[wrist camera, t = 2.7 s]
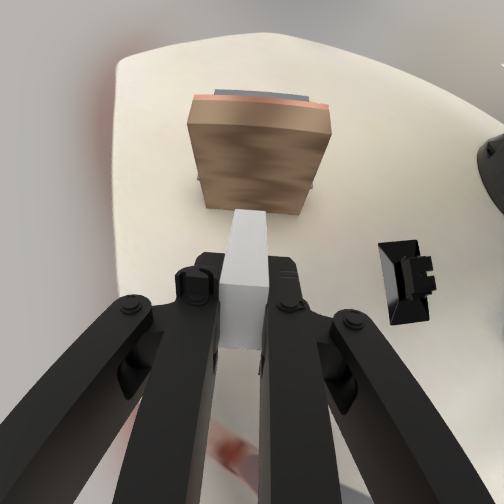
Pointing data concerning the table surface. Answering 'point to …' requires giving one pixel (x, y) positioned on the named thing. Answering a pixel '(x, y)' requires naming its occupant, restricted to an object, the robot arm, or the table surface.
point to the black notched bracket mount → (406, 281)
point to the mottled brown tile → (257, 150)
